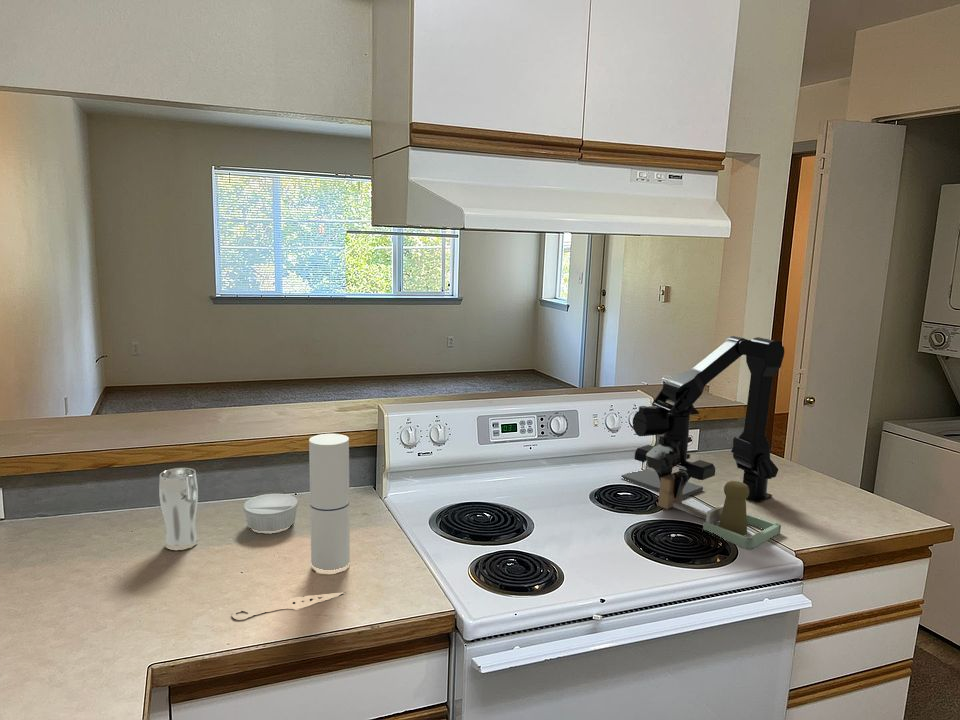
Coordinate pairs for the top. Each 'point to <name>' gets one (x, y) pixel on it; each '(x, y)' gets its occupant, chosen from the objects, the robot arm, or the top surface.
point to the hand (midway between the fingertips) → (670, 496)
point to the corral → (744, 541)
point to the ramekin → (270, 512)
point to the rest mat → (657, 482)
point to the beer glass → (179, 505)
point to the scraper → (669, 501)
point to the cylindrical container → (329, 501)
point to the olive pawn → (735, 507)
